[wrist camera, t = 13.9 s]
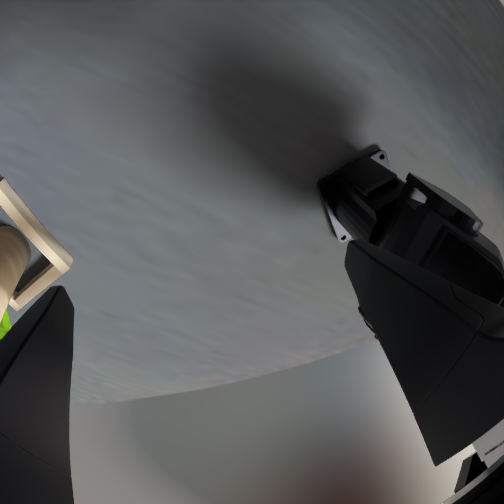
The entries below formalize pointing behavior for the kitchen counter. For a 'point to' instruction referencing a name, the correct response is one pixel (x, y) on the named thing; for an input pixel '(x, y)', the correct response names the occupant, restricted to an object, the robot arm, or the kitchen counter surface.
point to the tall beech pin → (11, 262)
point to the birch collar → (41, 239)
